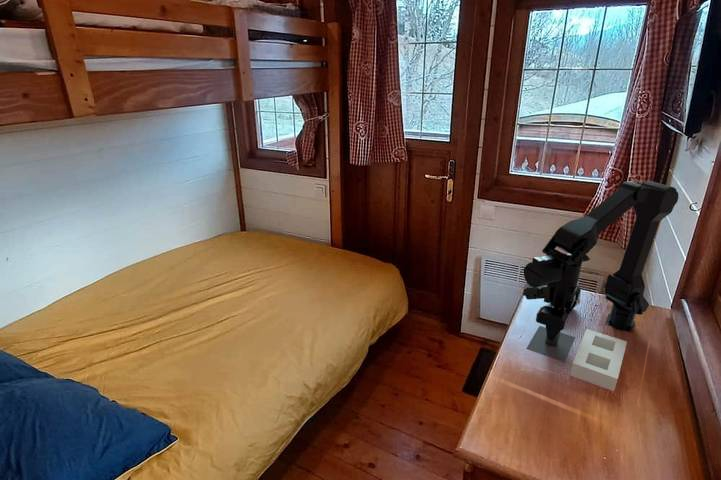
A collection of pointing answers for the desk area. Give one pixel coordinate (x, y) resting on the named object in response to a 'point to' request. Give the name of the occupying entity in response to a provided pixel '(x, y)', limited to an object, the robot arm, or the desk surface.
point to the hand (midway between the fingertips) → (553, 332)
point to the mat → (554, 352)
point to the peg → (554, 341)
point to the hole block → (599, 359)
